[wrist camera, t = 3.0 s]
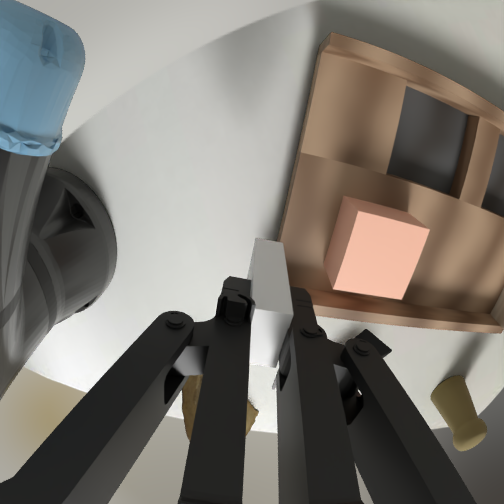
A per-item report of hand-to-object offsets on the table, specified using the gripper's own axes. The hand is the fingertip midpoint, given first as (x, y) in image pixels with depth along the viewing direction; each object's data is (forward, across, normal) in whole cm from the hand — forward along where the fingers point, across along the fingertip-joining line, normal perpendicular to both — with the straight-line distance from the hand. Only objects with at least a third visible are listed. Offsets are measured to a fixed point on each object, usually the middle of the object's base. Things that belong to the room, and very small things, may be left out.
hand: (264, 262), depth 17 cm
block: (+8, +9, 0) cm, 12 cm away
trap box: (+10, +16, +4) cm, 19 cm away
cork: (+10, +33, -20) cm, 40 cm away
